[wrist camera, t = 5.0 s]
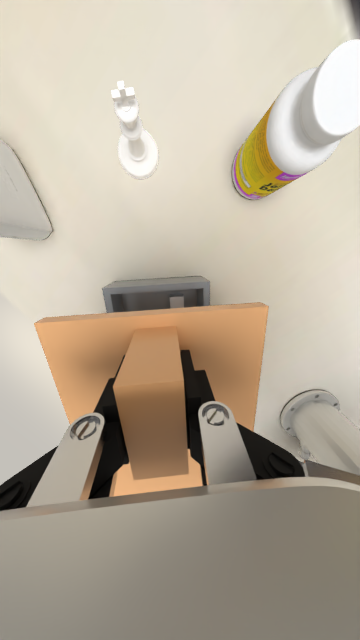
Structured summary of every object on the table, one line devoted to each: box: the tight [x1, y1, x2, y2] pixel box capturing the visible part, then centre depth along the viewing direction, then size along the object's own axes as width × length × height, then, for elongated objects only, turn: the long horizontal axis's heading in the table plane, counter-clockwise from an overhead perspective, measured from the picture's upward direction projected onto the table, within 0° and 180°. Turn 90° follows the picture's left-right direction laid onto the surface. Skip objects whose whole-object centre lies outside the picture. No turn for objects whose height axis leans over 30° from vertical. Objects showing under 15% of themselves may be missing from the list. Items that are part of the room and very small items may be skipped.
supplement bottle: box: [232, 39, 360, 200], centre depth 18 cm, size 7×7×13 cm
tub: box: [102, 276, 210, 313], centre depth 28 cm, size 18×13×6 cm
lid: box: [34, 302, 269, 496], centre depth 12 cm, size 19×14×7 cm
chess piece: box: [111, 81, 159, 179], centre depth 18 cm, size 5×5×10 cm
